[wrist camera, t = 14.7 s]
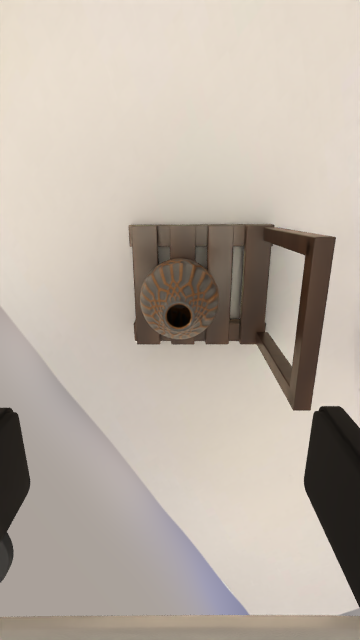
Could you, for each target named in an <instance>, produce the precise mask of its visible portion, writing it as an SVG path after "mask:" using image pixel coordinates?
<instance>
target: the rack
mask: <svg viewBox="0 0 360 640" xmlns="http://www.w3.org/2000/svg"><path fill="white" fill-rule="evenodd" d="M335 239H336V237H332V236H326V235H320V234H314V233H307V232H301V231H295V230H289V229H283V228H277V227H274V225H272V224H200V225H129V241H130V247H132V250H133V270H134V289H135V309H136V320H135V323H134V334H135V341H137V344H160V341H171V344H194V341H205V342H206V344H228V343H229V341H239V342H240V344H257V346H258V347H259V349H260V351H261V353H262V355H263V356H264V358H265V360H266V362H267V364H268V365H269V367H270V369H271V371H272V373H273V374H274V376H275V378H276V380H277V382H278V383H279V385H280V387H281V389H282V391H283V392H284V394H285V396H286V398H287V400H288V402H289V404H290V405H291V407H292V409H293V410H311V403H312V396H313V389H314V382H315V375H316V369H317V362H318V355H319V348H320V341H321V335H322V328H323V321H324V314H325V307H326V301H327V294H328V287H329V280H330V273H331V266H332V260H333V253H334V246H335ZM273 244H275V245H278V246H280V247H283V248H286V249H289V250H292V251H295V252H297V253H300V254H303V255H305V264H304V272H303V280H302V289H301V297H300V305H299V314H298V322H297V331H296V339H295V347H294V356H293V364H292V366H291V365H290V363H289V362H288V360H287V359H286V358H285V356H284V355H283V353H282V352H281V350H280V349H279V348H278V346H277V345H276V343H275V342H274V341H273V339H272V338H271V336H270V335H269V333H268V332H265V328H266V323H265V312H266V301H267V289H268V277H269V265H270V253H271V246H273ZM158 246H170V260H171V259H177V258H181V259H188V260H192V261H195V246H207V270H208V272H209V273H210V274H211V275H212V277H213V278H214V280H215V282H216V285H217V288H218V292H219V305H218V310H217V313H216V315H215V317H214V319H213V321H212V322H211V324H210V325H209V326H208V327H207V328H206V329H205V330H204V331H203V332H201V333H200V334H198V335H196V336H194V337H191V338H187V339H172V338H168V337H165V336H163V335H161V334H159V333H158V332H156V331H155V330H154V329H153V328H152V327H151V326H150V325H149V324H148V322H147V321H146V319H145V317H144V315H143V313H142V310H141V305H140V293H141V288H142V285H143V283H144V280H145V279H146V277H147V276H148V274H149V273H150V272H151V271H152V270H153V269H154V268H155V267H156V266H158V265H159V259H158ZM233 246H244V258H243V275H242V292H241V309H240V319H230V302H231V281H232V260H233Z"/></svg>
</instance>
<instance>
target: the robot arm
mask: <svg viewBox="0 0 360 640" xmlns="http://www.w3.org/2000/svg"><path fill="white" fill-rule="evenodd" d="M304 486H305V490H306V493H307V495H308V497H309V499H310V501H311V504H312V506H313V508H314V510H315V512H316V514H317V517H318V519H319V521H320V523H321V525H322V527H323V529H324V532H325V534H326V536H327V538H328V540H329V542H330V545H331V547H332V549H333V551H334V553H335V555H336V558H337V560H338V562H339V564H340V566H341V568H342V571H343V573H344V575H345V577H346V579H347V581H348V583H349V586H350V588H351V590H352V592H353V594H354V596H355V599H356V601H357V603H358V605H359V607H360V428H359V427H358V426H357V425H356V423H355V422H354V421H353V420H352V419H351V418H350V416H349V415H348V414H347V413H346V412H345V411H344V409H343V408H342V407H339V406H322V407H320V409H319V411H315V412H314V414H313V420H312V427H311V434H310V441H309V448H308V455H307V462H306V469H305V476H304ZM29 488H30V476H29V471H28V466H27V460H26V455H25V449H24V444H23V438H22V433H21V427H20V422H19V417H18V414H17V413H15V412H13V410H12V409H11V408H0V543H1V541H2V539H3V537H4V536H5V534H6V532H7V530H8V528H9V527H10V525H11V523H12V521H13V519H14V517H15V516H16V513H17V512H18V510H19V508H20V506H21V505H22V503H23V501H24V499H25V497H26V495H27V493H28V491H29ZM0 640H360V616H333V615H167V616H165V615H164V616H163V615H161V616H160V615H159V616H158V615H156V616H155V615H147V616H37V617H35V616H33V617H0Z"/></svg>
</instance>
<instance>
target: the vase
mask: <svg viewBox="0 0 360 640" xmlns="http://www.w3.org/2000/svg"><path fill="white" fill-rule="evenodd" d="M140 305H141V310H142V313H143V315H144V317H145V319H146V321H147V322H148V324H149V325H150V326H151V327H152V328H153V329H154V330H155V331H156V332H158V333H159V334H161V335H163V336H165V337H168V338H172V339H187V338H191V337H194V336H196V335H198V334H200V333H201V332H203V331H204V330H205V329H206V328H207V327H208V326H209V325H210V324H211V322H212V321H213V319H214V317H215V315H216V313H217V310H218V305H219V292H218V288H217V285H216V282H215V280H214V278H213V277H212V275H211V274H210V273H209V272H208V270H207V269H205V268H204V267H203V266H202V265H200V264H199V263H197V262H195V261H192V260H188V259H181V258H177V259H171V260H167V261H165V262H163V263H161V264H159V265H158V266H156V267H155V268H154V269H153V270H152V271H151V272H150V273H149V274H148V276H147V277H146V279H145V280H144V283H143V285H142V288H141V293H140Z"/></svg>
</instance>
